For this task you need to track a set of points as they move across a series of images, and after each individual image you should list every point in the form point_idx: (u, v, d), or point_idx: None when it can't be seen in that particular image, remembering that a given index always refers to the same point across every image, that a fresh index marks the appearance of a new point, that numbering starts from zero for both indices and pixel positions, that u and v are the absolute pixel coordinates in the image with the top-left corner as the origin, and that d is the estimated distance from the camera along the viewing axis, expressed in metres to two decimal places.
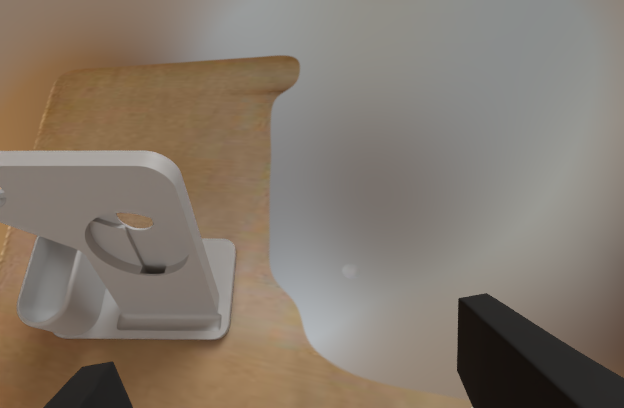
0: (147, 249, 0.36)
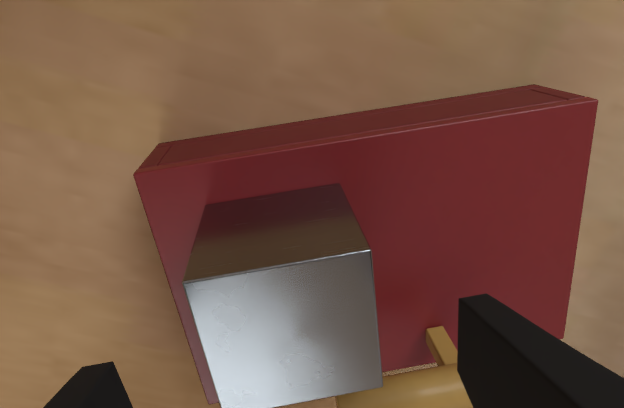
0: None
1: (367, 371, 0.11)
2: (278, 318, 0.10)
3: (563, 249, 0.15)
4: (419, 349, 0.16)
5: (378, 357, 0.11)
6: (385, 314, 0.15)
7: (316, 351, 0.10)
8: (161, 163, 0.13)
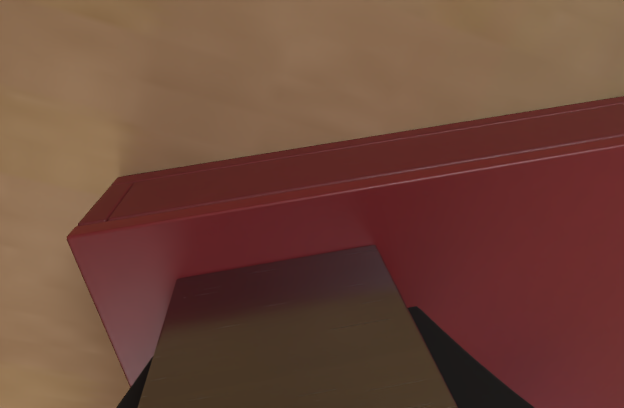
0: None
1: None
2: None
3: None
4: None
5: None
6: None
7: None
8: (112, 217, 0.09)
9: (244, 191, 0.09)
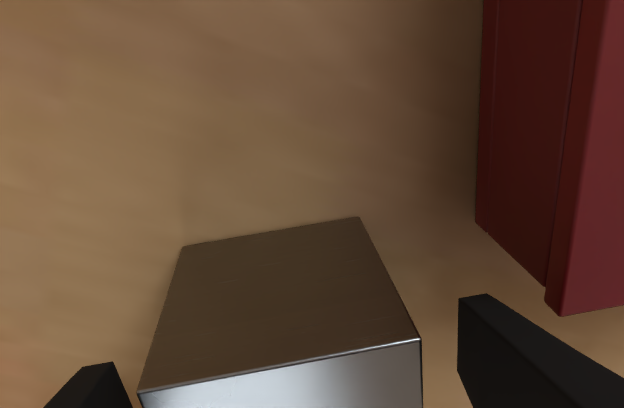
0: None
1: None
2: None
3: None
4: None
5: None
6: None
7: None
8: None
9: None
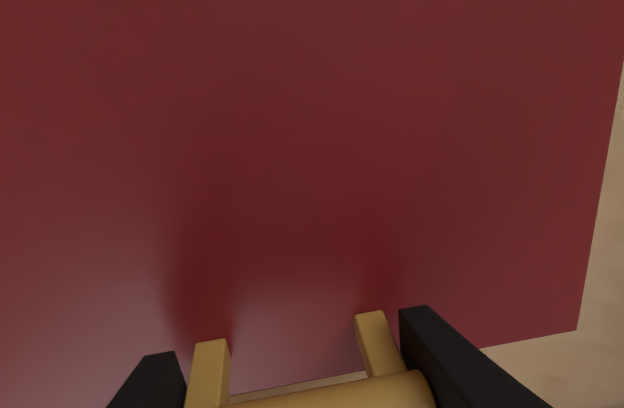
0: None
1: None
2: None
3: (581, 179, 0.09)
4: (346, 348, 0.10)
5: None
6: (282, 290, 0.09)
7: None
8: None
9: None
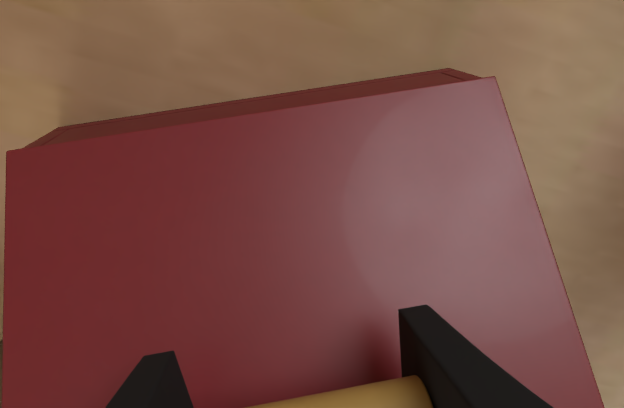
0: None
1: None
2: None
3: (533, 251, 0.11)
4: None
5: None
6: (296, 354, 0.10)
7: None
8: None
9: (138, 129, 0.13)
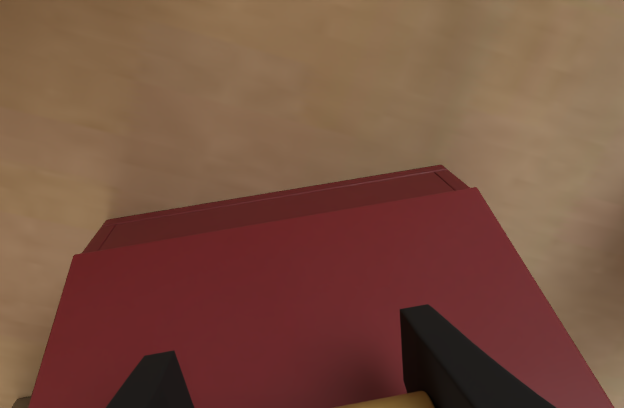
0: None
1: None
2: None
3: (540, 320, 0.11)
4: None
5: None
6: None
7: None
8: (101, 249, 0.15)
9: (179, 233, 0.15)
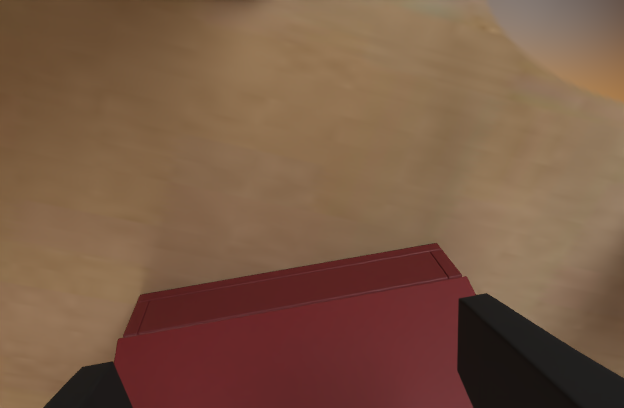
0: None
1: None
2: None
3: None
4: None
5: None
6: None
7: None
8: (140, 331, 0.17)
9: (207, 315, 0.18)
